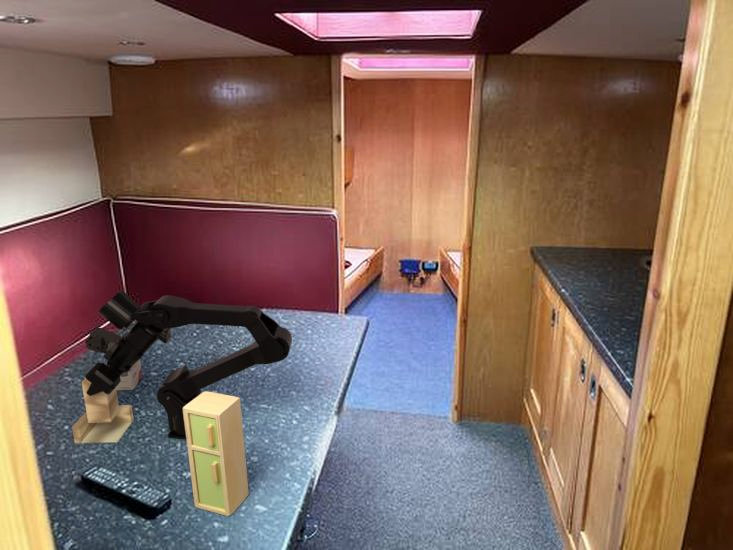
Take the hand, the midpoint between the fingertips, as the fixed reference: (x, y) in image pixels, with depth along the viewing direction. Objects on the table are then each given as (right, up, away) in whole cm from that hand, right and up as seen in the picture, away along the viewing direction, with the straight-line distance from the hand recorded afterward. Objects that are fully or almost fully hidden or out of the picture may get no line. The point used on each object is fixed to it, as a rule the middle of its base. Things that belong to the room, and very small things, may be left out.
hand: (93, 388), depth 125 cm
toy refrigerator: (+34, -18, -20) cm, 43 cm away
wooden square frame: (+1, -11, +4) cm, 12 cm away
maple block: (+1, -7, +2) cm, 7 cm away
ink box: (-4, -4, +27) cm, 28 cm away
